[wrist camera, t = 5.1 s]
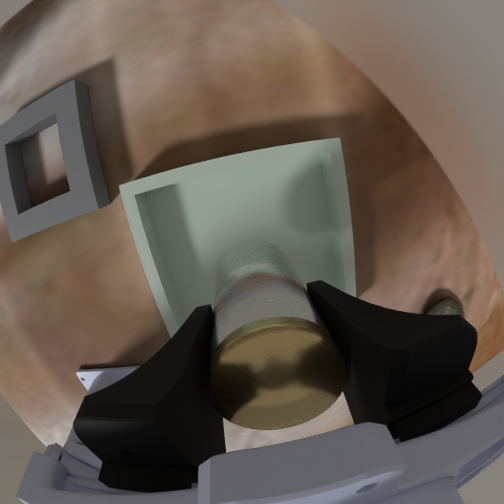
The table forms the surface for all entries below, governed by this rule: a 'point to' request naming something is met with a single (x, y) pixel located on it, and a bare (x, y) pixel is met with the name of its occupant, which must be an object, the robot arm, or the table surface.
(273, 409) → the pin
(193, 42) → the table surface
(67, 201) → the holder
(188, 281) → the tray
